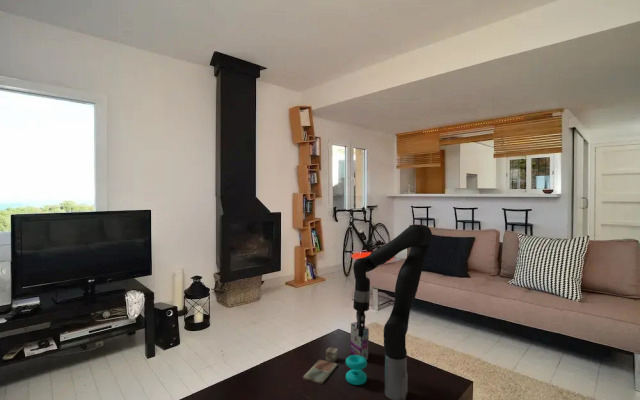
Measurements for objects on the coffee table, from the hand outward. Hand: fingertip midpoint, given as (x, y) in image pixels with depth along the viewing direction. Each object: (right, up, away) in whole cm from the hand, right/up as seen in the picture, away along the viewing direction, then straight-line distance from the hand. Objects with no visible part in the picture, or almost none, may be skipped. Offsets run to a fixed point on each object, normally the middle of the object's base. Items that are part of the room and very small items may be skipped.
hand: (359, 332), depth 153 cm
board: (-19, -21, +4) cm, 28 cm away
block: (-13, -21, +16) cm, 29 cm away
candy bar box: (+2, -21, +20) cm, 29 cm away
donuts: (-2, -21, -3) cm, 22 cm away
